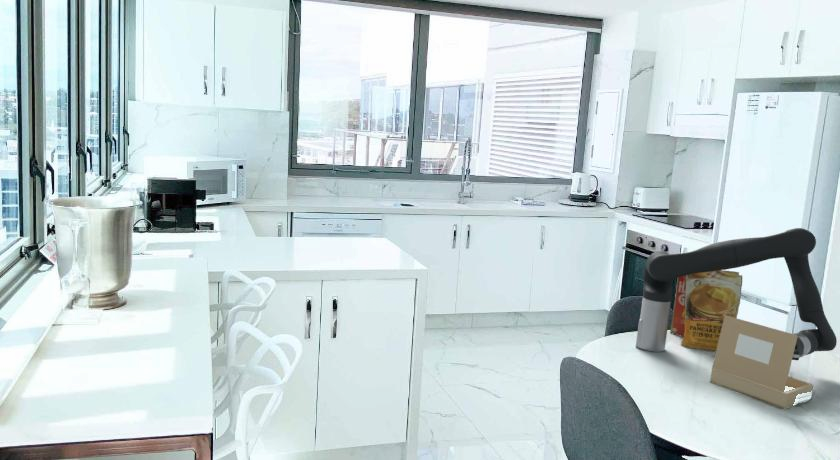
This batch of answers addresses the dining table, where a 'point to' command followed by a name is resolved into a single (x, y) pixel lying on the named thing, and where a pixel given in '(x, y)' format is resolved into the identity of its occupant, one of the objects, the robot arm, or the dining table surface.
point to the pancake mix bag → (709, 306)
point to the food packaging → (679, 308)
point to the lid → (755, 352)
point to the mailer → (761, 388)
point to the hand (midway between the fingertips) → (763, 353)
